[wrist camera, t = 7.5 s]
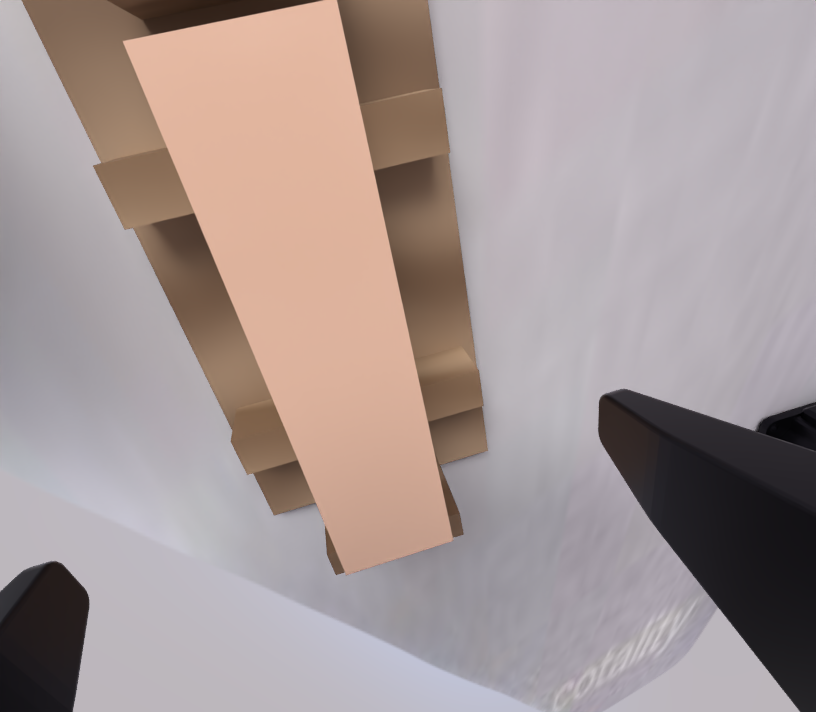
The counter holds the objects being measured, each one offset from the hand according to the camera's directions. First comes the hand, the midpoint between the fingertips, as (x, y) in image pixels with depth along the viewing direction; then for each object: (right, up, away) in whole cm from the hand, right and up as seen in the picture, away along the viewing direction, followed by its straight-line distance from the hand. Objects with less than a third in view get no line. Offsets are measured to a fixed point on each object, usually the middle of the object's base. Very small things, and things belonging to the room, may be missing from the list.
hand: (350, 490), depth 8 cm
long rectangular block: (-1, +4, +7) cm, 8 cm away
